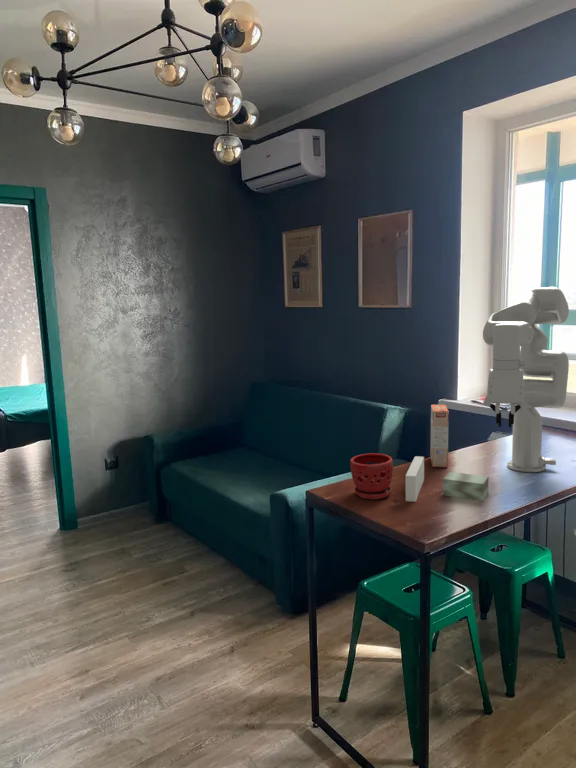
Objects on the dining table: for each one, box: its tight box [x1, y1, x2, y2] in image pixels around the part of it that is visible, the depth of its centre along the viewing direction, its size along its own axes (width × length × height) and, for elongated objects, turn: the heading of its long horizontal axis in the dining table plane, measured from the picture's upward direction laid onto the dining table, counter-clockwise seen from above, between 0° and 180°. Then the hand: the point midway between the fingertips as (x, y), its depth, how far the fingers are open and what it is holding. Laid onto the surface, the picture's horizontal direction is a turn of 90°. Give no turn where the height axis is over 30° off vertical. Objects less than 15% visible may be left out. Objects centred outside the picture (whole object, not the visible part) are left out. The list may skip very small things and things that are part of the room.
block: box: [442, 471, 490, 501], centre depth 177 cm, size 12×8×6 cm, turn 60°
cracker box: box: [429, 404, 450, 468], centre depth 211 cm, size 14×6×21 cm, turn 168°
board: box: [405, 455, 425, 503], centre depth 182 cm, size 3×22×8 cm, turn 160°
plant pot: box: [349, 452, 394, 500], centre depth 179 cm, size 13×13×12 cm
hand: (504, 425), depth 171 cm, fingers closed
